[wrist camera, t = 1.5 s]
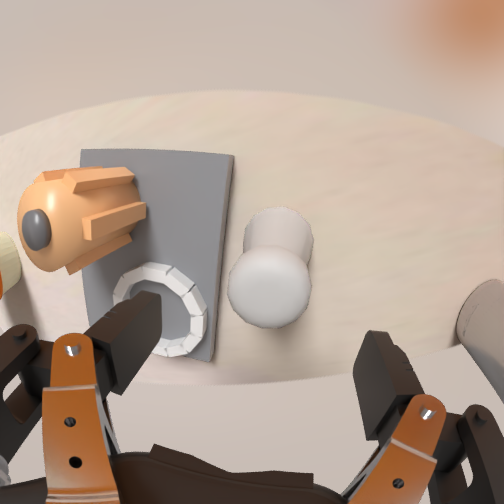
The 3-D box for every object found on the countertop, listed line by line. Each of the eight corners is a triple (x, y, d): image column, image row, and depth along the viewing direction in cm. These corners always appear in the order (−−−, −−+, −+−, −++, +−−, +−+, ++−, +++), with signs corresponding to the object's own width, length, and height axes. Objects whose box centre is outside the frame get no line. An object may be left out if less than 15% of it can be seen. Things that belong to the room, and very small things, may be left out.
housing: (234, 155, 24) (178, 145, 12) (214, 351, 30) (177, 438, 18) (92, 149, 25) (-1, 153, 13) (97, 318, 32) (36, 374, 20)
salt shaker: (324, 237, 25) (352, 304, 13) (277, 276, 27) (265, 365, 14) (280, 189, 24) (270, 212, 12) (234, 232, 26) (185, 291, 14)
